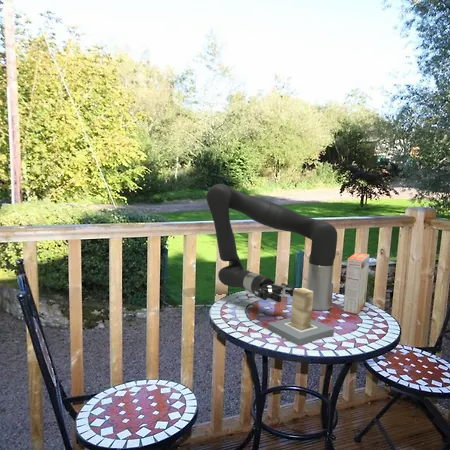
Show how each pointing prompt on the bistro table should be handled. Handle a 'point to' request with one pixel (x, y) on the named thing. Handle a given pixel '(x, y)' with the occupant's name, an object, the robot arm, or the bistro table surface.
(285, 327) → the grey rectangular slab
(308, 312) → the maple block
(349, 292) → the cracker box
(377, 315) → the bistro table surface
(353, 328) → the bistro table surface
